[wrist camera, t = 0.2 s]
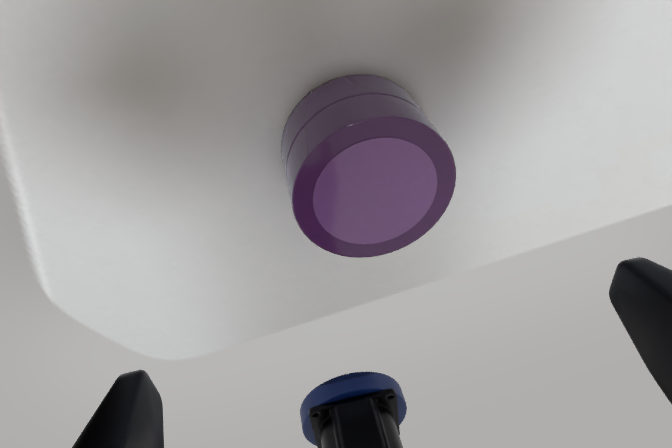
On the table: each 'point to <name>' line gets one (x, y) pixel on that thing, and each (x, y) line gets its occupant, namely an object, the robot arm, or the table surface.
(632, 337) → the robot arm
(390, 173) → the top dish
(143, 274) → the table surface
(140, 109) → the table surface
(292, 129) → the bottom dish
